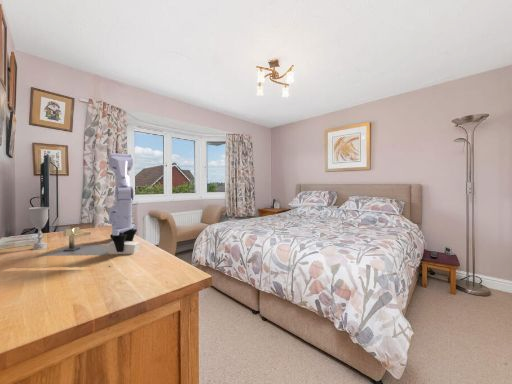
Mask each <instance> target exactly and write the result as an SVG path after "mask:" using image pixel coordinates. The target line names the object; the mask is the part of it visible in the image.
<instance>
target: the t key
mask: <svg viewBox="0 0 512 384" xmlns="http://www.w3.org/2000/svg"><path fill="white" fill-rule="evenodd" d="M62 235H63V237H68V246H69V249H72V248H75V245H76V243H75V239H77V238H81V237H85V236H89V235H91V231H89V232H88V231H87V232H83V233H80V226H75V227H71V228H66V229H63V231H62Z"/></svg>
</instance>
